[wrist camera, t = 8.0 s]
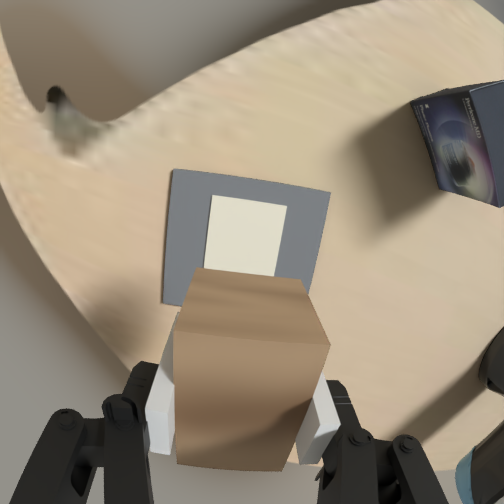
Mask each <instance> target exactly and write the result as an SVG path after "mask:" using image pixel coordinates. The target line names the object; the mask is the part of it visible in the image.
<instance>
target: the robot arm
mask: <svg viewBox="0 0 504 504" xmlns="http://www.w3.org/2000/svg"><path fill="white" fill-rule="evenodd" d="M179 313H180V312H177V315H176V318H175V321H174V323H173V326H172V329H171V332H170V335H169V337H168V340H167V343H166V346H165V349H164V352H163V355H162V358H161V361H160V364H154V363H149V362H144V361H141V362H139V363H138V364H137V365H136V366H135V367H133V369H132V372H131V374H130V378H129V379H128V381H127V384H126V386H125V388H124V391H123V393H122V394H114V395H112V396H110V397H107V398H106V399H105V400H104V401H103V404H102V410H103V414H104V418H98V419H89V418H88V419H87V418H83V417H82V416H81V414H80V413H79V412H77V411H75V410H72V409H67V408H66V409H60V410H58V411H56V412H55V413H54V414H53V415H52V416H51V418H50V420H49V422H48V423H47V425H46V427H45V429H44V431H43V433H42V435H41V437H40V438H39V441H38V443H37V444H36V446H35V448H34V450H33V452H32V455H31V456H30V459H29V461H28V463H27V465H26V467H25V469H24V471H23V474H22V475H21V478H20V480H19V482H18V484H17V487H16V489H15V491H14V494H13V496H12V498H11V501H10V503H9V504H86V502H87V498H88V495H89V492H90V489H91V485H92V482H93V479H94V476H95V473H96V470H97V467H104V504H154V500H153V493H152V486H151V478H150V468H149V461H148V451H149V447H150V451H151V452H155V453H160V454H166V455H170V452H171V447H172V442H173V436H174V431H175V413H174V385H173V330H174V327H175V324H176V322H177V319H178V316H179ZM479 378H480V380H481V382H482V383H483V384H484V385H485V387H486V388H488V389H489V390H491V391H493V392H495V393H497V394H500V395H502V396H504V328H503V329H502V330H501V332H500V333H499V334H498V335H497V337H496V338H495V339H494V341H493V342H492V344H491V345H490V347H489V349H488V350H487V352H486V354H485V356H484V358H483V361H482V363H481V366H480V371H479ZM295 442H296V447H297V453H298V458H299V464H300V465H302V464H318V462H319V461H320V459H321V457H322V459H323V463H324V465H323V467H322V468H321V470H320V471H319V473H318V474H317V476H316V478H315V481H317V480H318V479H319V478H320V483H319V491H318V500H317V504H449V503H448V501H447V499H446V497H445V494H444V492H443V490H442V488H441V486H440V484H439V481H438V479H437V477H436V475H435V473H434V471H433V469H432V467H431V465H430V462H429V460H428V458H427V456H426V454H425V452H424V450H423V448H422V446H421V444H420V443H419V441H418V440H417V439H416V438H414V437H413V436H410V435H399V436H397V437H396V438H395V439H394V440H393V442H391V441H384V440H378V439H374V438H373V436H372V435H371V433H370V432H368V431H367V430H365V429H363V428H361V426H360V423H359V421H358V418H357V415H356V413H355V410H354V408H353V405H352V404H351V400H350V398H349V395H348V393H347V390H346V388H345V387H344V386H343V385H342V384H341V383H340V382H339V381H338V380H326V379H325V376H324V374H323V371H322V372H321V375H320V378H319V381H318V384H317V386H316V389H315V392H314V395H313V397H312V400H311V403H310V405H309V408H308V411H307V413H306V415H305V418H304V420H303V423H302V425H301V427H300V430H299V432H298V434H297V436H296V439H295ZM455 479H456V486H457V490H458V493H459V496H460V499H461V501H462V503H463V504H504V420H503V421H502V422H501V423H500V424H499V425H498V426H497V427H496V428H495V429H494V430H493V431H492V432H491V433H490V434H489V435H488V436H487V437H486V438H485V439H483V440H482V441H481V442H480V443H479V444H478V445H476V446H474V447H473V449H472V450H471V451H470V452H469V453H468V454H467V455H466V456H465V457H464V458H462V459H461V460H460V462H459V463H458V465H457V467H456V472H455Z"/></svg>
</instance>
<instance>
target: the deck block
mask: <svg viewBox="0 0 504 504" xmlns="http://www.w3.org/2000/svg"><path fill="white" fill-rule="evenodd" d="M330 345H331V344H330V342H329V340H328V338H327V335H326V333H325V331H324V329H323V327H322V324H321V322H320V320H319V318H318V316H317V313H316V311H315V309H314V307H313V305H312V303H311V300H310V298H309V296H308V294H307V292H306V290H305V287H304V285H303V283H302V281H301V279H292V278H283V277H274V276H265V275H256V274H248V273H239V272H231V271H223V270H215V269H206V268H198V267H196V269H195V272H194V275H193V277H192V280H191V283H190V286H189V288H188V291H187V294H186V296H185V299H184V302H183V305H182V308H181V310H180V313H179V316H178V319H177V322H176V324H175V327H174V330H173V385H174V413H175V439H176V453H177V454H176V455H177V464H181V465H188V466H196V467H204V468H213V469H225V470H240V471H282V470H283V468H284V465H285V463H286V461H287V459H288V456H289V454H290V452H291V450H292V447H293V445H294V443H295V439H296V436H297V434H298V432H299V430H300V427H301V425H302V423H303V420H304V418H305V415H306V413H307V411H308V408H309V405H310V403H311V400H312V397H313V395H314V392H315V389H316V386H317V384H318V381H319V378H320V375H321V372H322V369H323V367H324V364H325V361H326V358H327V355H328V352H329V349H330Z"/></svg>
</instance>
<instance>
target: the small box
mask: <svg viewBox="0 0 504 504" xmlns="http://www.w3.org/2000/svg"><path fill="white" fill-rule="evenodd" d="M411 105H412V108H413V110H414V113H415V115H416V118H417V121H418V123H419V126H420V129H421V131H422V134H423V137H424V140H425V143H426V146H427V149H428V152H429V155H430V158H431V162H432V165H433V168H434V172H435V176H436V179H437V183H438V187H439V189H441V190H445V191H448V192H452V193H455V194H459V195H462V196H465V197H469V198H472V199H475V200H478V201H481V202H484V203H487V204H490V205H493V206H495V207H498V208H501V207H503V206H504V80H500V81H494V82H487V83H480V84H473V85H467V86H462V87H457V88H451V89H445V90H444V89H443V90H441V91H440V92H439V91H438V92H436V93H433V94H430V95H427V96H424V97H423V96H422V97H419V98H417V99H415V100H412V101H411Z"/></svg>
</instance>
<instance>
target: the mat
mask: <svg viewBox="0 0 504 504" xmlns="http://www.w3.org/2000/svg"><path fill="white" fill-rule="evenodd" d="M330 194H331V193H330V192H326V191H321V190H316V189H311V188H305V187H300V186H294V185H288V184H283V183H277V182H271V181H264V180H258V179H252V178H245V177H238V176H231V175H224V174H216V173H208V172H200V171H192V170H183V169H174V170H173V178H172V187H171V196H170V206H169V216H168V228H167V240H166V254H165V271H164V293H163V303H165V304H171V305H178V306H182V305H183V302H184V299H185V296H186V294H187V291H188V288H189V286H190V283H191V280H192V277H193V275H194V272H195V269H196V267H198V268H206V269H215V270H223V271H231V272H239V273H248V274H256V275H265V276H274V277H283V278H292V279H301V281H302V283H303V285H304V287H305V290H306V292H307V294H308V293H309V289H310V285H311V281H312V277H313V273H314V268H315V264H316V260H317V256H318V251H319V247H320V242H321V238H322V233H323V229H324V224H325V219H326V214H327V209H328V204H329V199H330Z"/></svg>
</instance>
